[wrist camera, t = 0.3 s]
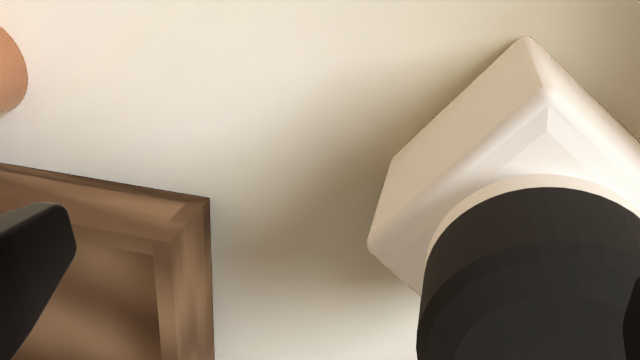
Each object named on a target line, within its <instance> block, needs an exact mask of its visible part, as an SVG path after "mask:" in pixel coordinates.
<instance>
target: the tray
mask: <svg viewBox="0 0 640 360" xmlns="http://www.w3.org/2000/svg"><path fill="white" fill-rule="evenodd" d="M36 202H50V203H58V204H61V205H63V206H64V207H65V208H66V209H67V211H68V214H69V218H70V221H71V225H72V229H73V232H74V236H75V239H76V244H77V249H76V254H75V257H74V259H73V261H72V263H71V264H70V266H69V268H68V270H67V271H66V273H65V275H64V277H63V278H62V280H61V282H60V283H59V285H58V287H57V289H56V290H55V292H54V294H53V296H52V297H51V299H50V301H49V302H48V304H47V306H46V308H45V309H44V311H43V313H42V315H41V316H40V318H39V320H38V321H37V323H36V325H35V326H34V328H33V330H32V331H31V333H30V334H29V336H28V337H27V338H26V340H25V341H24V343H23V344H22V346H21V347H20V348H19V350H18V351H17V353H16V354H15V355H14V357H13V358H12V360H215V358H214V326H213V295H212V263H211V232H210V200H209V198H206V197H200V196H194V195H189V194H183V193H177V192H171V191H165V190H159V189H153V188H147V187H141V186H135V185H129V184H123V183H117V182H111V181H105V180H99V179H94V178H88V177H82V176H76V175H70V174H64V173H58V172H52V171H46V170H40V169H34V168H28V167H22V166H16V165H10V164H4V163H0V215H1V214H3V213H6V212H9V211H12V210H15V209H18V208H21V207H24V206H27V205H30V204H33V203H36Z"/></svg>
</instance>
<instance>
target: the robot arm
mask: <svg viewBox="0 0 640 360" xmlns="http://www.w3.org/2000/svg"><path fill="white" fill-rule="evenodd" d="M76 249H77V244H76V239H75V236H74V232H73V229H72V225H71V221H70V218H69V214H68V211H67V209H66V208H65V207H64V206H63V205H61V204H58V203H50V202H36V203H33V204H30V205H27V206H24V207H21V208H18V209H15V210H12V211H9V212H6V213H3V214H1V215H0V360H12V358H13V357H14V355H15V354H16V353H17V351H18V350H19V348H20V347H21V346H22V344H23V343H24V341H25V340H26V338H27V337H28V336H29V334H30V333H31V331H32V330H33V328H34V326H35V325H36V323H37V321H38V320H39V318H40V316H41V315H42V313H43V311H44V309H45V308H46V306H47V304H48V302H49V301H50V299H51V297H52V296H53V294H54V292H55V290H56V289H57V287H58V285H59V283H60V282H61V280H62V278H63V277H64V275H65V273H66V271H67V270H68V268H69V266H70V264H71V263H72V261H73V259H74V257H75V254H76ZM622 329H623V340H624V347H625V355H626V360H640V275H639V276H638V278H637V279H636V281H635V284H634V287H633V290H632V293H631V296H630V299H629V303H628V306H627V309H626V312H625V315H624V319H623V328H622Z"/></svg>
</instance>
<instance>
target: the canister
mask: <svg viewBox="0 0 640 360" xmlns="http://www.w3.org/2000/svg"><path fill="white" fill-rule="evenodd" d="M27 84H28V75H27V69H26V64H25V61H24V58H23V56H22V54H21V52H20V50H19V48H18V46H17V45H16V43H15V42H14V40H13V39H12V38H11V36H10V35H9V34H8V33H7V32H6V31H5V30H4V29H3V28H2V27H0V114H3V113H5V112H7V111H9V110H12V109H13V108H15V107H16V106H18V105H19V104H20V103H21V101H22V100H23V98H24V96H25V94H26V90H27Z"/></svg>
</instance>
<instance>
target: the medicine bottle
mask: <svg viewBox="0 0 640 360" xmlns="http://www.w3.org/2000/svg"><path fill="white" fill-rule="evenodd" d="M367 248H368V250H369V252H370V253H371V254H372V255H373V256H374V257H376V258H377V259H378V260H379V261H380V262H381V263H383V264H384V265H385V266H386V267H387V268H388V269H389V270H391V271H392V272H393V273H394V274H395V275H396V276H397V277H399V278H400V279H401V280H402V281H403V282H404V283H405V284H407V285H408V286H409V287H410V288H411V289H412V290H414V291H415V292H416V293H417V294H418V295H419V296H420V297H421V304H420V313H419V321H418V329H417V342H416V351H417V359H418V360H626V355H625V347H624V340H623V329H622V328H623V319H624V315H625V312H626V309H627V306H628V303H629V299H630V296H631V293H632V290H633V287H634V284H635V281H636V279H637V278H638V276H639V275H640V143H639V142H638V141H637V140H636V139H635V138H634V137H633V136H632V135H631V134H630V133H629V132H628V131H627V130H626V129H625V128H623V127H622V126H621V125H620V124H619V123H618V122H617V121H616V120H615V119H614V118H613V117H612V116H611V115H610V114H609V113H608V112H607V111H606V110H605V109H604V108H603V107H602V106H601V105H600V104H599V103H598V102H597V101H596V100H595V99H594V98H593V97H592V96H591V95H590V94H589V93H588V92H587V91H586V90H585V89H584V88H583V87H582V86H580V85H579V84H578V83H577V82H576V81H575V80H574V79H573V78H572V77H571V76H570V75H569V74H568V73H567V72H566V71H565V70H564V69H563V68H562V67H561V66H560V65H559V64H558V63H557V62H556V61H555V60H554V59H553V58H552V57H551V56H550V55H549V54H548V53H547V52H546V51H545V50H544V49H543V48H542V47H541V46H540V45H539V44H537V43H536V42H535V41H534V40H533V39H532V38H530V37H521V38H519V39H518V40H516V41H515V42H514V43H513V44H512V45H511V46H510V47H509V48H508V49H507V50H506V51H505V52H504V53H503V54H502V55H500V56H499V57H498V58H497V59H496V60H495V61H494V62H493V63H492V64H491V65H490V66H489V67H488V68H487V69H486V70H485V71H484V72H482V73H481V74H480V75H479V76H478V77H477V78H476V79H475V80H474V81H473V82H472V83H471V84H470V85H469V86H468V87H467V88H466V89H464V90H463V91H462V92H461V93H460V94H459V95H458V96H457V97H456V98H455V99H454V100H453V101H452V102H451V103H450V104H449V105H448V106H446V107H445V108H444V109H443V110H442V111H441V112H440V113H439V114H438V115H437V116H436V117H435V118H434V119H433V120H432V121H431V122H429V123H428V124H427V125H426V126H425V127H424V128H423V129H422V130H421V131H420V132H419V133H418V134H417V135H416V136H415V137H414V138H413V139H411V140H410V141H409V142H408V143H407V144H406V145H405V146H404V147H403V148H402V149H401V150H400V151H399V152H398V153H397V154H396V155H395V156H393V158H392V160H391V163H390V166H389V169H388V173H387V176H386V179H385V182H384V186H383V189H382V192H381V196H380V199H379V202H378V205H377V209H376V212H375V215H374V219H373V222H372V225H371V228H370V232H369V235H368V238H367Z"/></svg>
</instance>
